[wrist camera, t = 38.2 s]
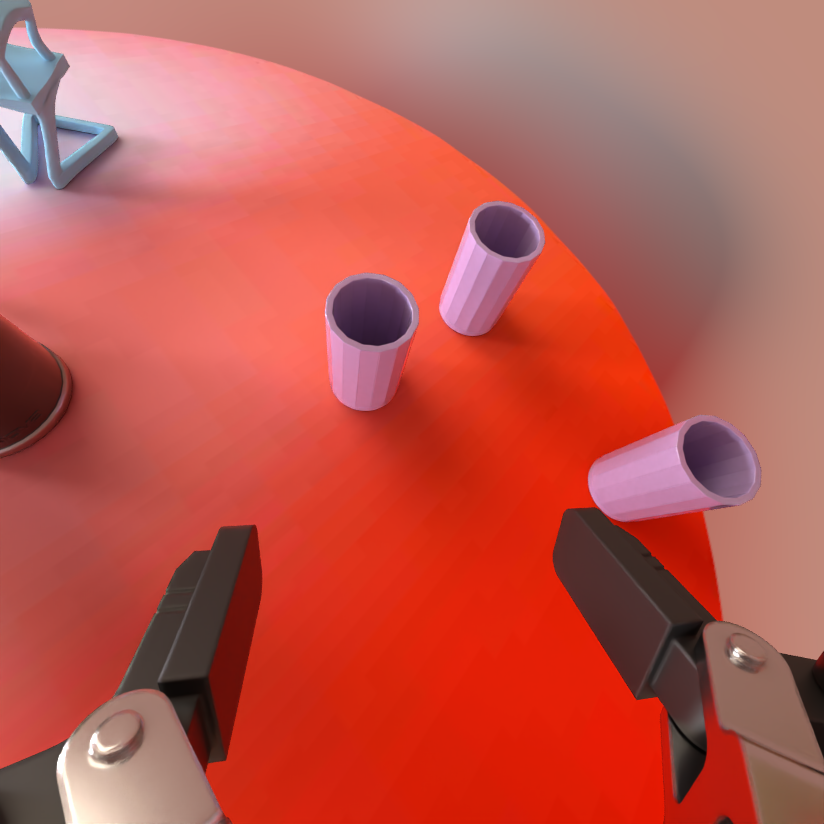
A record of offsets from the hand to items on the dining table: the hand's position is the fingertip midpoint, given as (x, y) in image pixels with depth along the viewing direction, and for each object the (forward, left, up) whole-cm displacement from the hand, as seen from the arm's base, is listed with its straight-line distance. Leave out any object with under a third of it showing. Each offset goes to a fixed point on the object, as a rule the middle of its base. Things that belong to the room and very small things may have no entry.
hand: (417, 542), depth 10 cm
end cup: (+11, +20, -21) cm, 30 cm away
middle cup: (-11, +9, -21) cm, 25 cm away
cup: (-10, +22, -21) cm, 32 cm away
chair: (-47, +3, -21) cm, 51 cm away
